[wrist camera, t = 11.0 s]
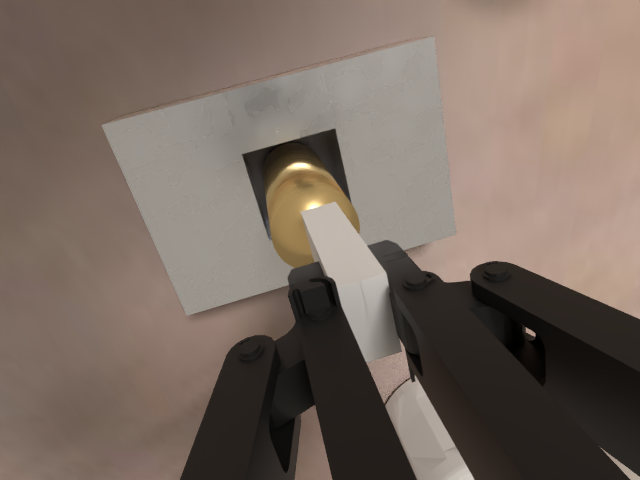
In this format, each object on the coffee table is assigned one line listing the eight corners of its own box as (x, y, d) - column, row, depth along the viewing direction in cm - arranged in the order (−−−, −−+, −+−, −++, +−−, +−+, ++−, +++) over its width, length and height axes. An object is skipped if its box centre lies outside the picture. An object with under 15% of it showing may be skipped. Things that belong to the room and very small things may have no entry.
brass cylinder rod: (254, 153, 27) (259, 204, 18) (314, 135, 27) (349, 177, 18) (272, 209, 29) (286, 282, 20) (329, 192, 29) (367, 257, 20)
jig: (120, 116, 25) (101, 124, 21) (406, 39, 26) (433, 36, 23) (193, 285, 30) (186, 315, 26) (430, 214, 31) (456, 234, 28)
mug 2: (486, 438, 42) (555, 542, 33) (382, 464, 41) (423, 580, 32) (492, 325, 36) (576, 412, 27) (371, 352, 35) (418, 452, 26)
